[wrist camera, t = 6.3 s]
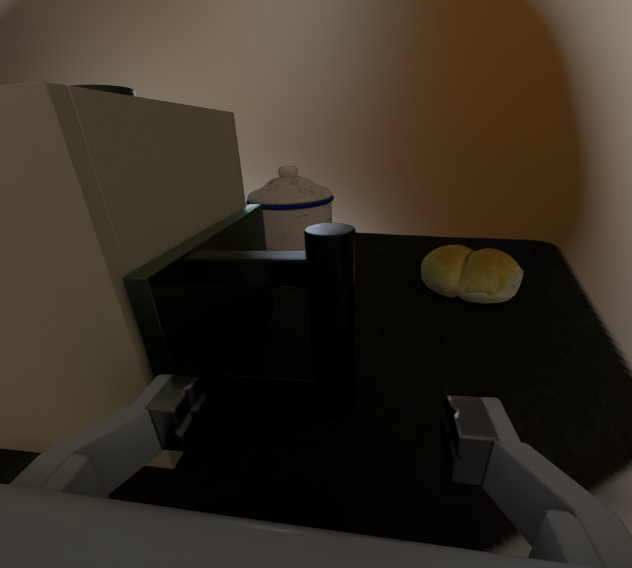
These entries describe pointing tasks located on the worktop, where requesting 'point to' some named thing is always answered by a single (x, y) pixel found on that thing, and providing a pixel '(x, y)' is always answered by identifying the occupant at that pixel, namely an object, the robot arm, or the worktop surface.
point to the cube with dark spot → (93, 242)
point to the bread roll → (471, 274)
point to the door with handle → (249, 312)
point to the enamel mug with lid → (291, 209)
